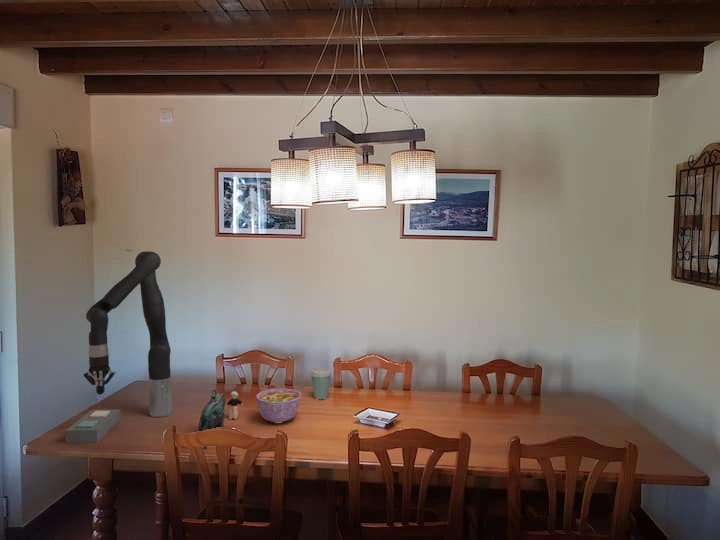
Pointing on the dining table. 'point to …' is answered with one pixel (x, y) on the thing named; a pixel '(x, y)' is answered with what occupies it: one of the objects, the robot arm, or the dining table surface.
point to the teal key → (87, 424)
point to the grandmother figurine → (234, 405)
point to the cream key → (100, 414)
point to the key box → (92, 433)
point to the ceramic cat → (213, 412)
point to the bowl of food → (278, 404)
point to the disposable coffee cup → (320, 382)
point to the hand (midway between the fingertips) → (100, 393)
